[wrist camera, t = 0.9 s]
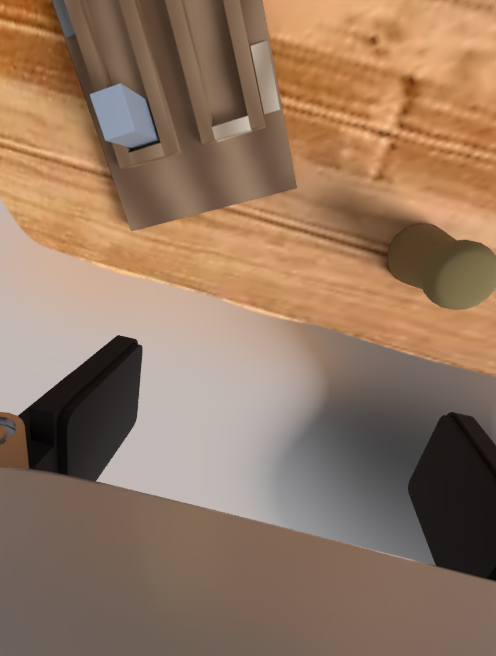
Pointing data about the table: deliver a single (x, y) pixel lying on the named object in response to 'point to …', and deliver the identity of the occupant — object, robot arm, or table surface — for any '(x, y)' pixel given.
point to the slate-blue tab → (124, 117)
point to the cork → (443, 266)
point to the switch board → (185, 101)
